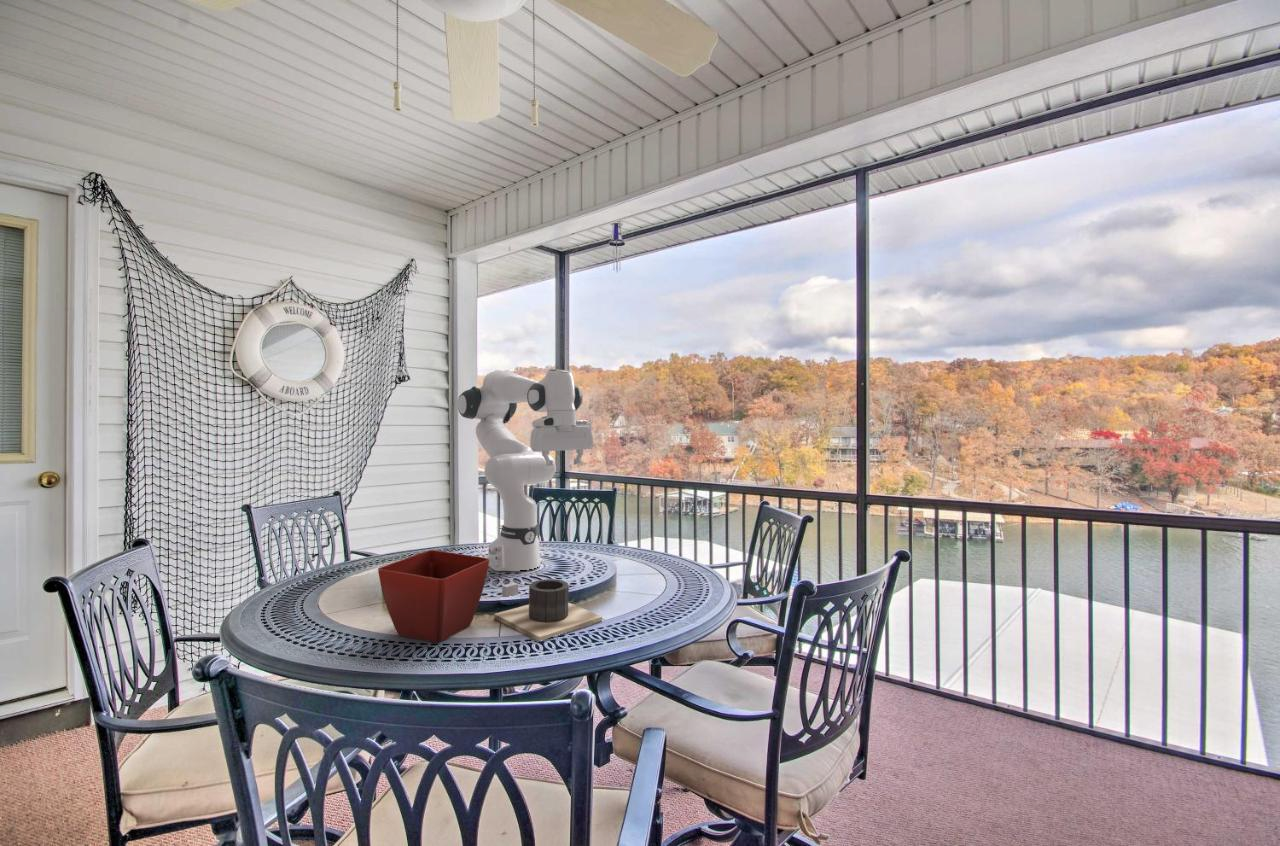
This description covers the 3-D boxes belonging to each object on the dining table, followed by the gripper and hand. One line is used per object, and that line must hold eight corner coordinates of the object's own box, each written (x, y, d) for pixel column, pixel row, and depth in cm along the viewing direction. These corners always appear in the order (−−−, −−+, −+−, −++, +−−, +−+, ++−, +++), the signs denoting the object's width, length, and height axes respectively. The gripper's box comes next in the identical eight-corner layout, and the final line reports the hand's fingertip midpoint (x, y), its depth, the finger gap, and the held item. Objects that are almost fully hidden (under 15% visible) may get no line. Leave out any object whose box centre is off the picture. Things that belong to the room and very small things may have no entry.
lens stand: (494, 618, 153) (495, 583, 153) (555, 601, 168) (556, 569, 167) (539, 642, 139) (540, 604, 139) (602, 621, 154) (603, 586, 153)
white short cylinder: (506, 607, 162) (507, 589, 162) (495, 601, 166) (496, 584, 166) (523, 602, 166) (524, 585, 166) (512, 597, 170) (513, 580, 170)
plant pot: (440, 652, 132) (441, 578, 132) (374, 638, 139) (375, 568, 138) (490, 622, 150) (491, 558, 150) (429, 611, 157) (430, 549, 156)
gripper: (586, 420, 189) (588, 463, 189) (527, 421, 178) (529, 467, 178) (596, 419, 184) (597, 463, 184) (535, 420, 173) (537, 467, 172)
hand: (563, 465), depth 181 cm, fingers open, 8 cm apart
